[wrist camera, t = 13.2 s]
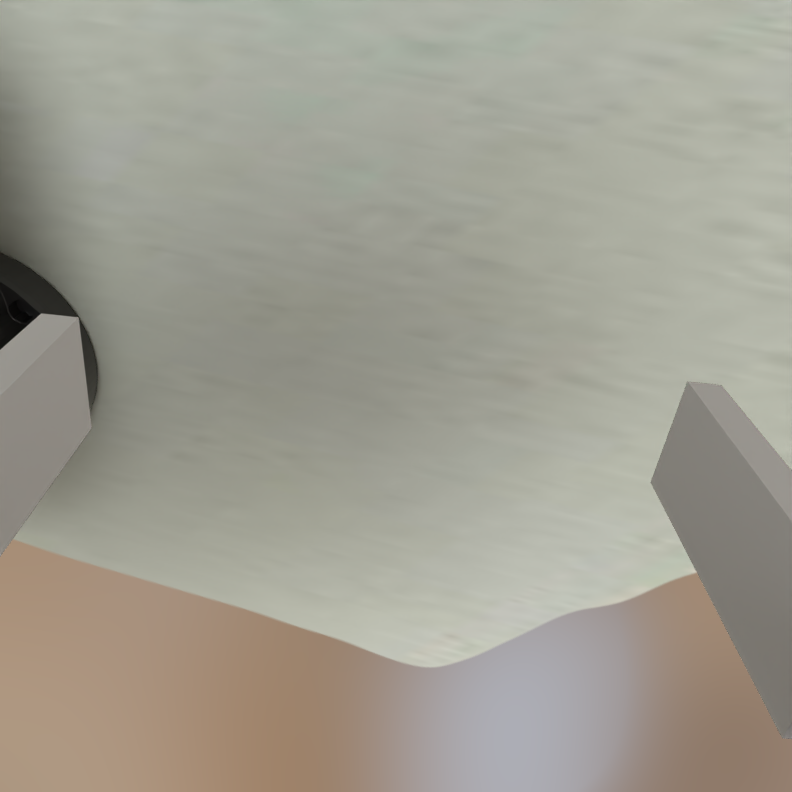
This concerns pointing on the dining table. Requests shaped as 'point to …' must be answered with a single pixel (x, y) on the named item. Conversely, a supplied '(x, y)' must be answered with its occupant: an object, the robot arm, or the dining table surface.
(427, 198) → the dining table surface
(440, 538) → the dining table surface
